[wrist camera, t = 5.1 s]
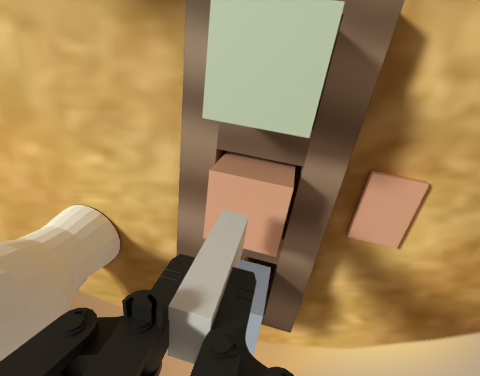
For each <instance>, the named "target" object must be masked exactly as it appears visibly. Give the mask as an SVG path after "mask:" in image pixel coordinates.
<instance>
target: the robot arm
mask: <svg viewBox="0 0 480 376" xmlns="http://www.w3.org/2000/svg"><path fill="white" fill-rule="evenodd" d="M248 218H249V215H245V214H240V213H236V212H232V211H228V210H222V212H221V213H220V215H219V217H218V219H217V221H216V222H215V224H214V226H213V228H212V229H211V231H210V233H209V235H208V237H207V238H206V240H205V242H204V244H203V246H202V247H201V249H200V251H199V253H198V254H197V256H196V258H195V257H191V256H188V255H184V254H179V255H178V256H176V257H175V258H173V259H172V260H171V261H170V263H169V264H168V266H167V267H166V269H165V270H164V271H163V273H162V274H161V277H159V279H158V280H157V282H156V283H155V285H154V286H153V288H152V289H151V291H150V290H140V291H135V292H133V293H132V294H130V295H128V296H127V297H126V298H125V299H124V300H123V301H122V303H123V312H124V316H120V317H99V318H97V315H96V313H95V312H94V311H93V310H91V309H88V308H76V309H74V310H70V311H68V312H66V313H65V314H63V315H61V316H60V317H58V318H57V319H56V320H54V321H53V322H52V323H50V324H49V325H48V326H46V327H45V328H44V329H43V330H41V331H40V332H39V333H37V334H36V335H35V336H33V337H32V338H31V339H29V340H28V341H27V342H25V343H24V344H23V345H21V346H20V347H19V348H17V349H16V350H15V351H13V352H12V353H11V354H9V355H8V356H7V357H5V358H4V359H3V360H1V361H0V376H158V375H159V373H160V371H161V367H162V359H163V357H164V355H165V353H166V351H167V349H168V355H169V356H172V357H175V358H178V359H181V360H184V361H187V362H191V363H193V364H194V367H193V370H192V372H191V375H190V376H294V375H293V374H292V373H290V372H289V371H288V370H286V369H284V368H280V367H271V368H267V367H266V366H264V365H263V364H261V363H260V362H259V361H257V360H256V359H255V358H254V357H253V356H252V354H251V353H250V352H249V350H248V347H247V345H246V339H245V338H246V330H247V325H248V321H249V316H250V311H251V306H252V302H253V297H254V292H255V288H256V283H257V281H256V278H255V274H254V272H251V271H247V270H243V269H239V268H238V265H239V262H240V259H241V256H242V252H243V246H244V240H245V235H246V229H247V223H248Z"/></svg>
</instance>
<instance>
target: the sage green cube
mask: <svg viewBox="0 0 480 376" xmlns="http://www.w3.org/2000/svg"><path fill="white" fill-rule="evenodd" d="M344 3H345V2H344V1H335V0H211V5H210V18H209V32H208V46H207V60H206V74H205V87H204V101H203V115H202V118H205V119H210V120H215V121H221V122H226V123H231V124H237V125H242V126H247V127H253V128H258V129H263V130H269V131H274V132H279V133H284V134H290V135H295V136H300V137H306V138H310V134H311V130H312V126H313V122H314V119H315V115H316V111H317V107H318V103H319V99H320V95H321V92H322V88H323V84H324V80H325V76H326V72H327V69H328V65H329V61H330V57H331V53H332V49H333V46H334V42H335V38H336V34H337V30H338V26H339V23H340V19H341V15H342V11H343V7H344Z"/></svg>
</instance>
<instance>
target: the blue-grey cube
mask: <svg viewBox="0 0 480 376" xmlns="http://www.w3.org/2000/svg"><path fill="white" fill-rule="evenodd" d="M238 268H239V269H243V270H247V271H251V272H254V274H255V278H256V281H257V283H256V288H255V292H254V297H253V302H252V306H251V311H250V316H249V321H248V325H247V330H246V338H245V339H246V345H247V347H248V350H249V352H250V353H251V354H252V356H253V353H254V349H255V345H256V341H257V337H258V334H259V330H260V326H261V322H262V318H263V313H264V307H265V301H266V295H267V289H268V283H269V277H270V271H271V267H267V266H264V265H260V264H256V263H252V262H248V261H245V260H241V259H240V262H239V265H238Z"/></svg>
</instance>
